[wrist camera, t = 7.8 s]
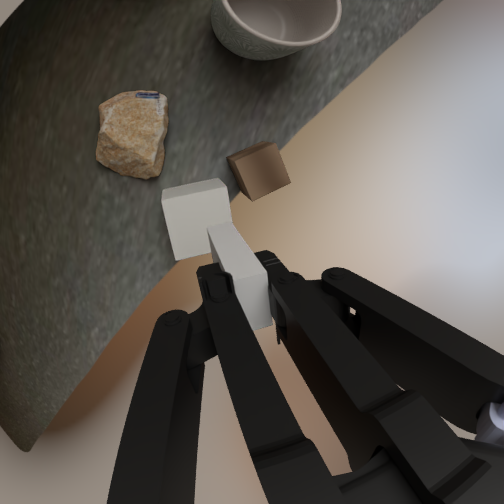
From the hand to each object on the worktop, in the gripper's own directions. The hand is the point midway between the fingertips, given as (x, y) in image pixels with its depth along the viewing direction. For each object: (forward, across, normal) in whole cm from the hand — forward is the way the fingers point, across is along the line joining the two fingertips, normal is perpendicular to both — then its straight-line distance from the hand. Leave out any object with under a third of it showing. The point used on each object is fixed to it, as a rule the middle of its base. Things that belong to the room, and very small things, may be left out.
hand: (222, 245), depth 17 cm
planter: (+20, +10, +20) cm, 30 cm away
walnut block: (+20, +8, +1) cm, 21 cm away
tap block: (+20, 0, -3) cm, 20 cm away
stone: (+20, -6, +8) cm, 22 cm away
